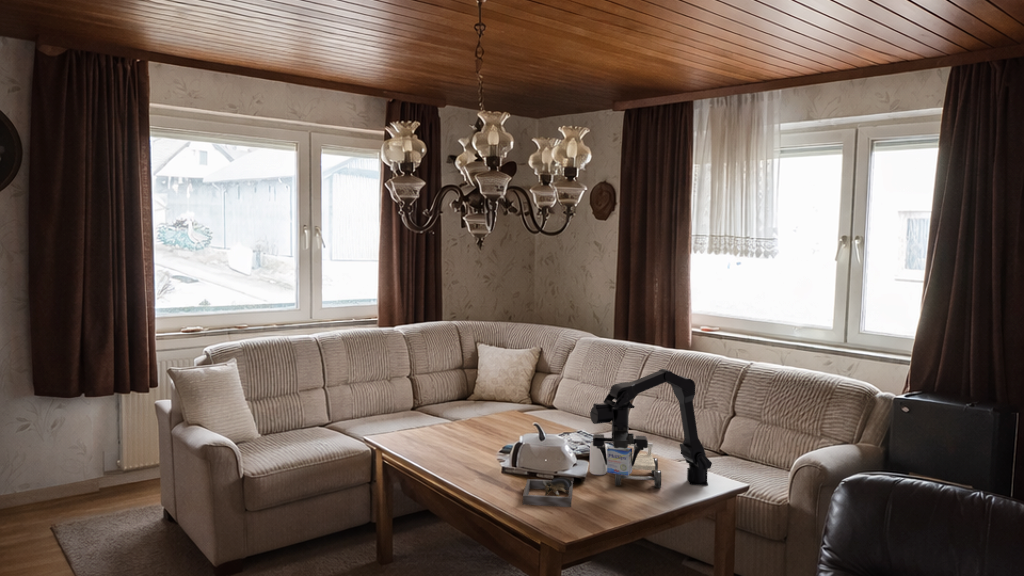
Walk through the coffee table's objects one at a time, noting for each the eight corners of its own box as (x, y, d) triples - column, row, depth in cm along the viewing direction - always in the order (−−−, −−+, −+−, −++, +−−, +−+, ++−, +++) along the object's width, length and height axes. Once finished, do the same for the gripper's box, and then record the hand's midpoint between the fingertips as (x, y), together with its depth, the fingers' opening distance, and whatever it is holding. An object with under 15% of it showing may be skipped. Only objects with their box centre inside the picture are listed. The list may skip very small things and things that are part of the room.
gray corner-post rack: (656, 471, 271) (657, 440, 270) (661, 490, 251) (662, 457, 250) (613, 469, 273) (614, 439, 272) (615, 487, 253) (616, 455, 252)
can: (607, 471, 270) (608, 440, 270) (605, 476, 264) (606, 444, 263) (591, 469, 272) (591, 438, 271) (588, 474, 266) (588, 443, 265)
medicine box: (606, 472, 247) (606, 448, 247) (610, 468, 251) (610, 444, 251) (628, 476, 244) (628, 451, 243) (632, 472, 248) (632, 447, 247)
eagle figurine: (552, 498, 239) (575, 490, 243) (544, 478, 242) (567, 470, 245) (545, 503, 246) (568, 494, 249) (538, 483, 248) (560, 475, 252)
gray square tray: (572, 489, 250) (572, 481, 250) (571, 507, 235) (571, 498, 234) (527, 487, 252) (527, 479, 252) (522, 504, 236) (522, 495, 236)
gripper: (592, 426, 239) (592, 471, 240) (649, 428, 237) (648, 474, 238) (593, 417, 250) (592, 461, 251) (646, 419, 248) (646, 463, 249)
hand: (619, 465), depth 247 cm, fingers closed on medicine box, 9 cm apart
